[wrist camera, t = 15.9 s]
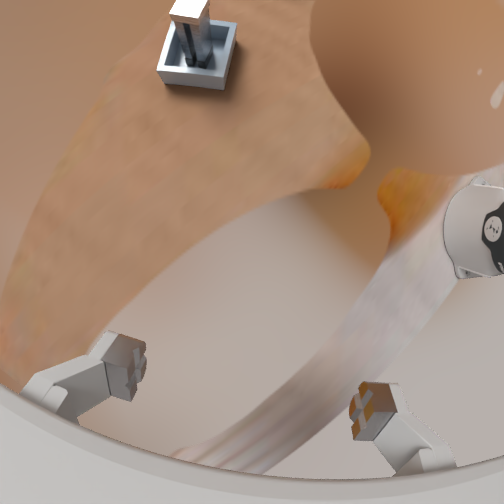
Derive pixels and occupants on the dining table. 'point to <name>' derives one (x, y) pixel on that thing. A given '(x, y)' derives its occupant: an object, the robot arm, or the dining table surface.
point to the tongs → (193, 30)
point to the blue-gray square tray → (180, 73)
